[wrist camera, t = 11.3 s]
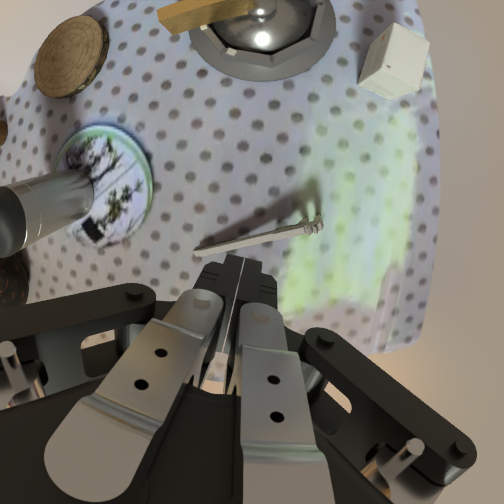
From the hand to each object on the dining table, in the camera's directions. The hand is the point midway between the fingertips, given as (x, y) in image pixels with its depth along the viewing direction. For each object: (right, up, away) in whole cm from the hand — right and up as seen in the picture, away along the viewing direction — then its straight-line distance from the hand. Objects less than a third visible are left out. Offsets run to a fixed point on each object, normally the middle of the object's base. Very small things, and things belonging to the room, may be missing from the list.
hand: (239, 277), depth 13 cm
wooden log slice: (-31, +36, +24) cm, 53 cm away
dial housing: (+2, +36, +21) cm, 41 cm away
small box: (+20, +28, +23) cm, 41 cm away
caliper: (+1, +4, +33) cm, 34 cm away
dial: (-1, +35, +20) cm, 40 cm away
